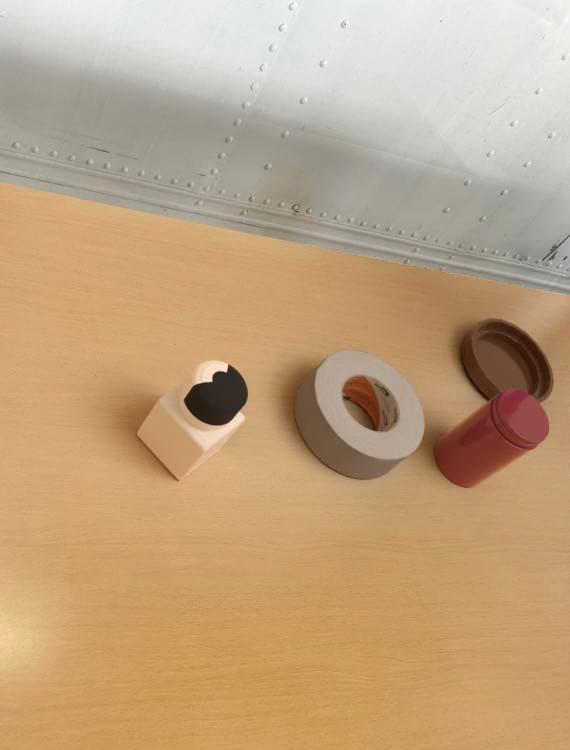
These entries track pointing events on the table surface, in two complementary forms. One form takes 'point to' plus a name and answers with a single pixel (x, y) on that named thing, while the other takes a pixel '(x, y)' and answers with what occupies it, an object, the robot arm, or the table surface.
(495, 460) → the jam jar
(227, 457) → the table surface
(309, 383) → the tape roll
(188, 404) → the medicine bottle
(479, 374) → the dish
